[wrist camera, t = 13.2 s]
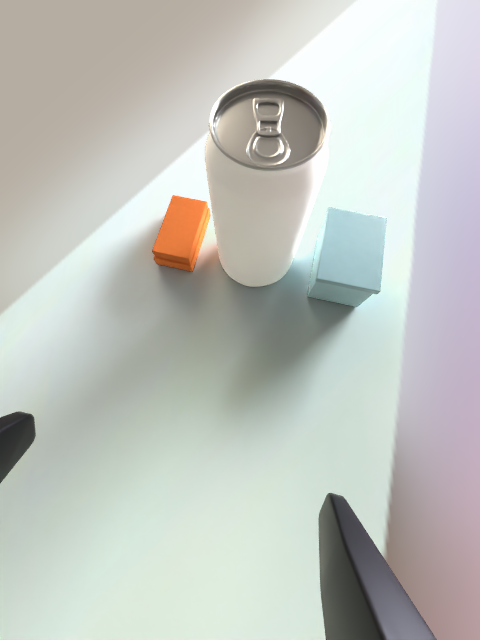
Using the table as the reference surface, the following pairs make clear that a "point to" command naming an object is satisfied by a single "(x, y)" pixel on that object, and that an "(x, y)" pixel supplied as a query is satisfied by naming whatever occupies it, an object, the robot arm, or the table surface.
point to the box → (348, 257)
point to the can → (264, 175)
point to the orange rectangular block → (181, 233)
